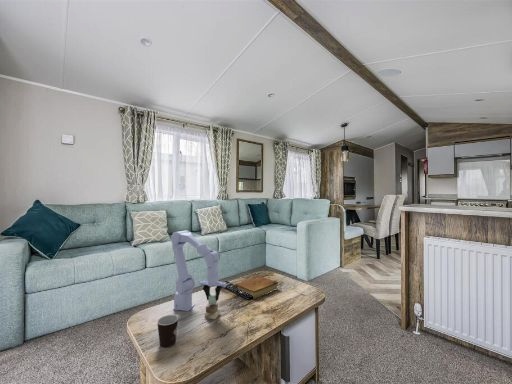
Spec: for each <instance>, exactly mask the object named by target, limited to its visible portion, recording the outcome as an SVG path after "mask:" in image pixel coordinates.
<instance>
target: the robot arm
mask: <svg viewBox="0 0 512 384" xmlns="http://www.w3.org/2000/svg"><path fill="white" fill-rule="evenodd" d="M170 240H171V245H172V250H173V251H172V252H173V256H174V260H175V266H176V270H177V275H178V276H177V278H176V280H175V290H176V292H175V294H174V297H173V299H174V300H173V310H174V311H184V312H189V311H190V310H191V309H193V307H194V306H195V305H196V304H195V303H193V291H194V288H195V285H196V283H195V280H194V278H193V276H192V275H191V274H189V270H188V266H187V262H186V258H185V254H184V249H183V247H184V245H185V244H186V243H188V244H189V245H191V246H192V247H194V248H195V249H196V253H198V254H199V255H200V256H202V257H203V258H204V261H205V262H206V268H207V269H206V272H207V273H206V276H207V277H206V280H201V281H199V287H201V286H202V290H203V292H204V293H205V296H206V301H209V294H211V287H214V291H215V294H216V301H219V297H220V293H221V291H222V288H226V287H227V282H224V281H220V280H219V260H220V259H221V254H220V252H219V251H218V250H214V249H213V248H211V247H209V246H208V245H207V244H206V243H204V242H203V243H201V242H200V241H199V240H198V239H197V238H196V237H194V235H192V232H190V230H188V229H185V230H182V231H181V230H180V231H174V232H172V235H171V236H170Z"/></svg>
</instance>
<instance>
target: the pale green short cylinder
mask: <svg viewBox="0 0 512 384" xmlns="http://www.w3.org/2000/svg"><path fill="white" fill-rule="evenodd" d="M217 301H218V300H217ZM217 301H216V293H213V292H212V293H210V294H209V300H208V303H209V304H216V303H218V302H217Z"/></svg>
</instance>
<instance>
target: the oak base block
mask: <svg viewBox="0 0 512 384" xmlns="http://www.w3.org/2000/svg"><path fill="white" fill-rule="evenodd" d="M219 315H220V308H218V309H217V311H216V312H215V313H206V311H205V312H204V318H205V319H211V320H212V319H213V320H216V319H217V317H218V316H219Z"/></svg>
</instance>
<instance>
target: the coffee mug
mask: <svg viewBox="0 0 512 384" xmlns="http://www.w3.org/2000/svg"><path fill="white" fill-rule="evenodd" d="M156 323H157V325H156V326H157V333H158V339H159V346H160V347H161V348H171V347H172V346H175V344H176V340H177V331H178V323H179V317H178V316H177V314H167V315H164V316H163V315H162V317H161V316H160V317H159V318H158V320H157V321H156Z"/></svg>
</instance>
